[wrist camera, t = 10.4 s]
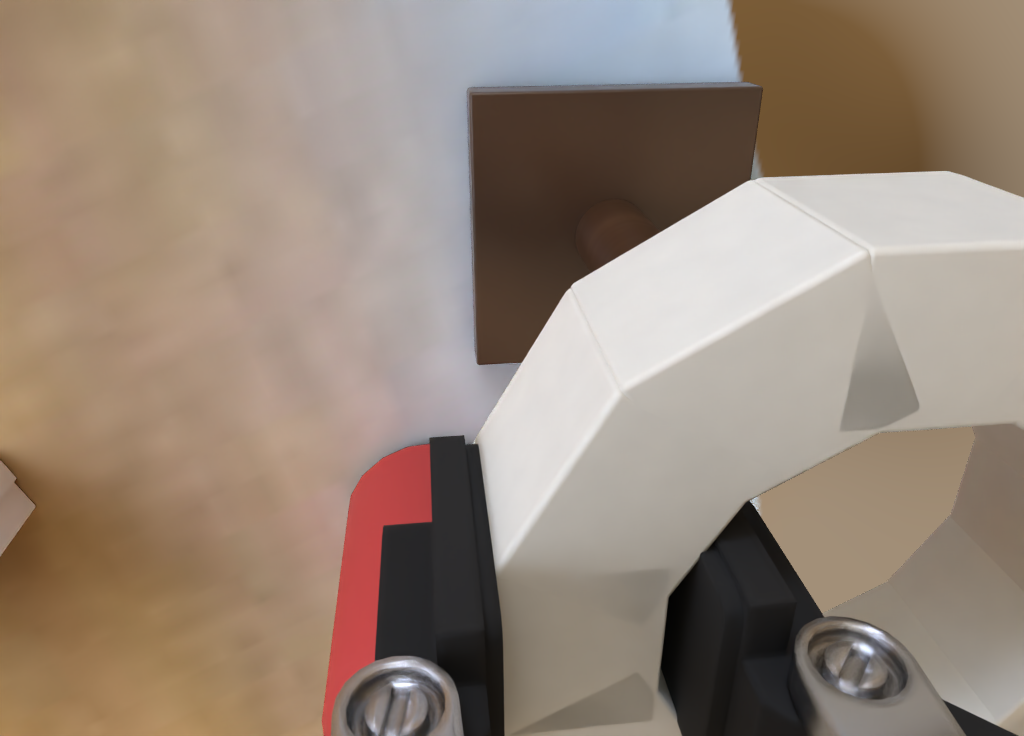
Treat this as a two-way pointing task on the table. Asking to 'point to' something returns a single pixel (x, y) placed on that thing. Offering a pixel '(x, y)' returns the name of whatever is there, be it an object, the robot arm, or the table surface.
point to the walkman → (11, 507)
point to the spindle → (587, 186)
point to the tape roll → (760, 433)
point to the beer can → (372, 558)
